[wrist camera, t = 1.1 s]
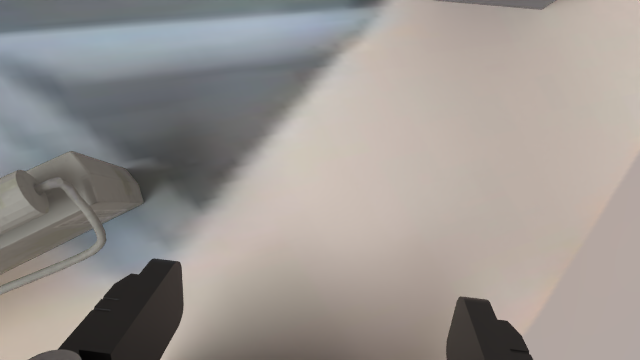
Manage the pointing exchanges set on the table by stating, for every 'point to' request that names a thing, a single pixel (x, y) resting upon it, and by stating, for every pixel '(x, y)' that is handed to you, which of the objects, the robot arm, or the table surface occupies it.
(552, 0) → the grey plinth
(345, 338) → the table surface
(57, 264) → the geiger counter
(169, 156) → the table surface
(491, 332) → the robot arm
